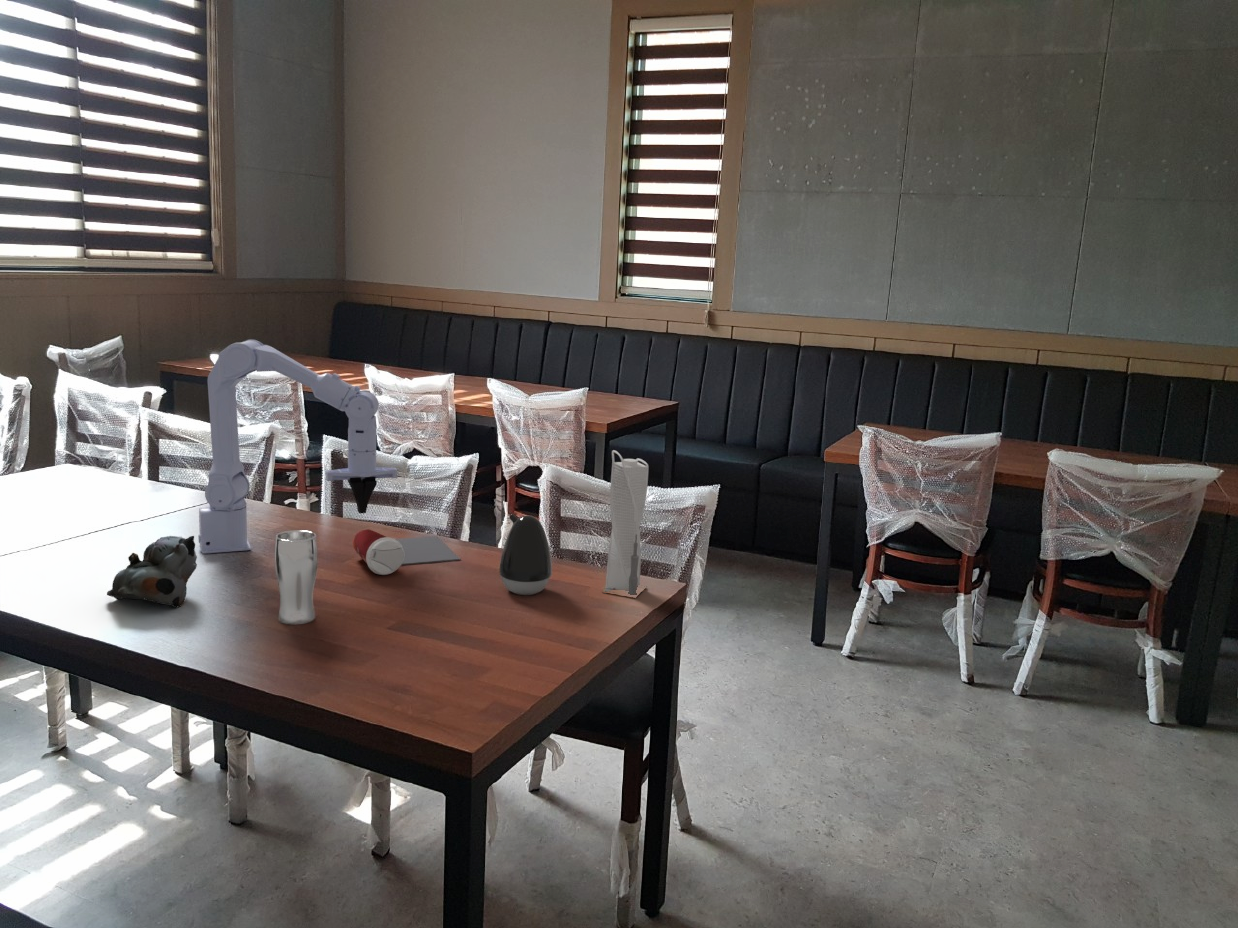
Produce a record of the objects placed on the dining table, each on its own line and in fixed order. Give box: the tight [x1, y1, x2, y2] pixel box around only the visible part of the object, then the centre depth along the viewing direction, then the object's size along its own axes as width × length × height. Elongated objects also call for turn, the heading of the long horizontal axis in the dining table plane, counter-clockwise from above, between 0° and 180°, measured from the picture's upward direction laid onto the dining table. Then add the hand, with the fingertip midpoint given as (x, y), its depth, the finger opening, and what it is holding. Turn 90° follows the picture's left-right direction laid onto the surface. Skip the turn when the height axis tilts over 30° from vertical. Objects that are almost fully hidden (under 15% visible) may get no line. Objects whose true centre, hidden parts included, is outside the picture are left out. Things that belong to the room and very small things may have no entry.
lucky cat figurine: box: [106, 535, 198, 608], centre depth 167 cm, size 15×12×14 cm
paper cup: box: [352, 528, 405, 576], centre depth 193 cm, size 8×8×14 cm
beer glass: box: [274, 529, 319, 626], centre depth 162 cm, size 7×7×15 cm
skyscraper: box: [601, 449, 649, 595], centre depth 186 cm, size 8×8×28 cm
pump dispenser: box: [498, 513, 553, 596], centre depth 183 cm, size 10×10×15 cm
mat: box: [395, 535, 462, 566], centre depth 205 cm, size 18×18×1 cm
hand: (361, 512), depth 201 cm, fingers closed
